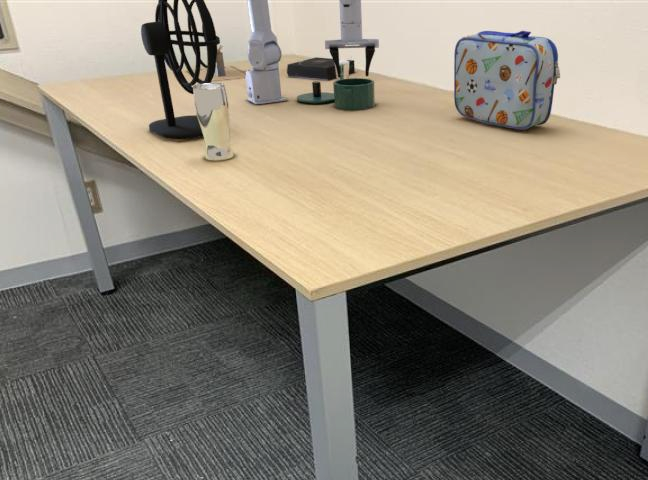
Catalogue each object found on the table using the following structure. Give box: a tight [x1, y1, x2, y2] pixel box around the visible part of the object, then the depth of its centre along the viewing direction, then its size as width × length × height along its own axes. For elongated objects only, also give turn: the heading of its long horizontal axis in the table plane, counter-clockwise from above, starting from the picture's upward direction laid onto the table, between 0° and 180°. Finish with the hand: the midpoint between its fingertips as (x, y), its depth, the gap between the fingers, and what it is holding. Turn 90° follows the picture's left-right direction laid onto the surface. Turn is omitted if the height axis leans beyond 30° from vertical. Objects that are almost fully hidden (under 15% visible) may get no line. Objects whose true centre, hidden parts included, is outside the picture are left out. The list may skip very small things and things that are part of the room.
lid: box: [296, 80, 334, 105], centre depth 195 cm, size 12×12×5 cm
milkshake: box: [334, 55, 352, 81], centre depth 205 cm, size 4×5×10 cm
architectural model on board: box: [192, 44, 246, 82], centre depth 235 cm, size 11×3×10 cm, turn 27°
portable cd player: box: [286, 57, 356, 82], centre depth 231 cm, size 16×17×4 cm
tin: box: [332, 77, 376, 111], centre depth 188 cm, size 11×17×6 cm
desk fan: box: [140, 0, 221, 141], centre depth 159 cm, size 27×18×35 cm, turn 36°
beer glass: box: [192, 82, 234, 162], centre depth 144 cm, size 7×7×15 cm
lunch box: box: [453, 30, 561, 130], centre depth 162 cm, size 28×10×22 cm, turn 45°
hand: (353, 76), depth 185 cm, fingers open, 7 cm apart
